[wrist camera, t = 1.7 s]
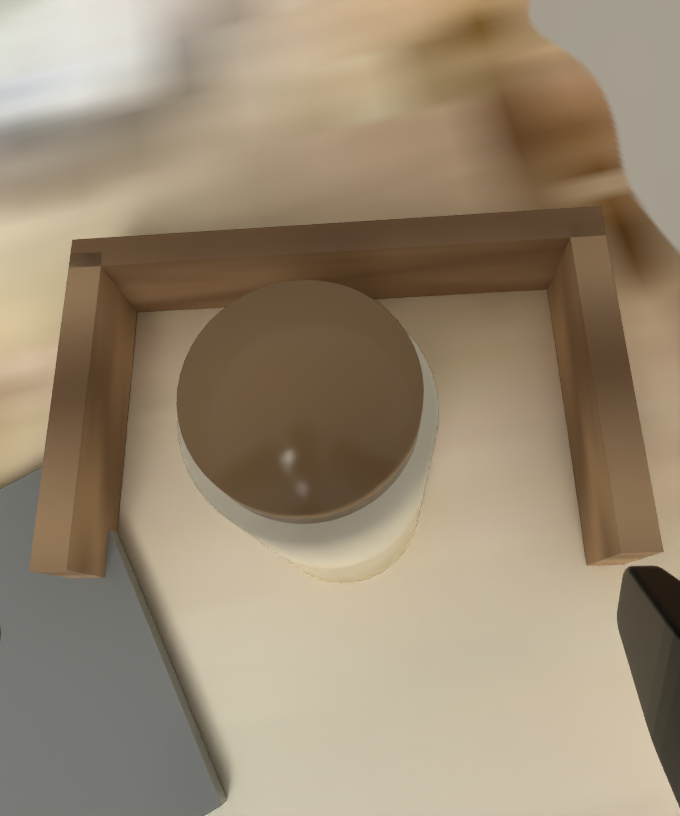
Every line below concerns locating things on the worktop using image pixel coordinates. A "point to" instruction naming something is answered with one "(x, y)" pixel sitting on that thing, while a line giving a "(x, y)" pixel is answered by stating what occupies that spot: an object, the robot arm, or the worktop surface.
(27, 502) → the pad
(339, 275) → the wooden u-shaped frame
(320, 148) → the worktop surface
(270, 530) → the jar
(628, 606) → the robot arm
